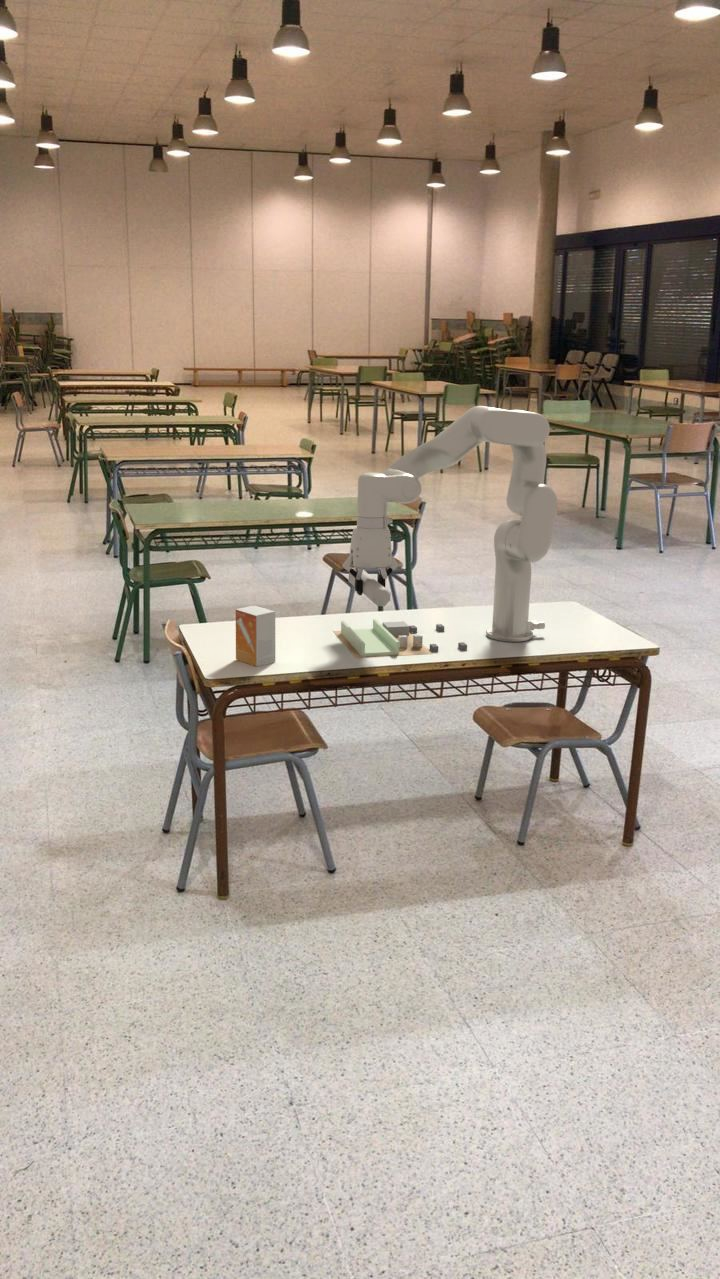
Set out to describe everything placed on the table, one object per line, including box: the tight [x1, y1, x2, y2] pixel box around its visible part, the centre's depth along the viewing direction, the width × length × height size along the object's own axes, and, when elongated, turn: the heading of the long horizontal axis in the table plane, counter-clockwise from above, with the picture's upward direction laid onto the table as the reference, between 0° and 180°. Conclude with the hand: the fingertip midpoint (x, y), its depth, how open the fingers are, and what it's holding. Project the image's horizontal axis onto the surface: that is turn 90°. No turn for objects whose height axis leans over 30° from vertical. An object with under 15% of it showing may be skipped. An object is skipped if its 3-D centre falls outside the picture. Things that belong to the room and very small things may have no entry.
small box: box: [235, 605, 276, 668], centre depth 266 cm, size 8×6×13 cm
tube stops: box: [409, 623, 468, 653], centre depth 285 cm, size 9×20×2 cm, turn 14°
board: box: [332, 630, 434, 659], centre depth 282 cm, size 20×25×1 cm
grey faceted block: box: [381, 621, 410, 636], centre depth 290 cm, size 6×5×2 cm
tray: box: [340, 619, 399, 657], centre depth 280 cm, size 10×22×3 cm, turn 14°
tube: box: [348, 567, 391, 607], centre depth 276 cm, size 5×5×25 cm
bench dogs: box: [398, 634, 424, 649], centre depth 277 cm, size 6×2×3 cm, turn 105°
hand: (369, 592), depth 276 cm, fingers closed on tube, 4 cm apart
